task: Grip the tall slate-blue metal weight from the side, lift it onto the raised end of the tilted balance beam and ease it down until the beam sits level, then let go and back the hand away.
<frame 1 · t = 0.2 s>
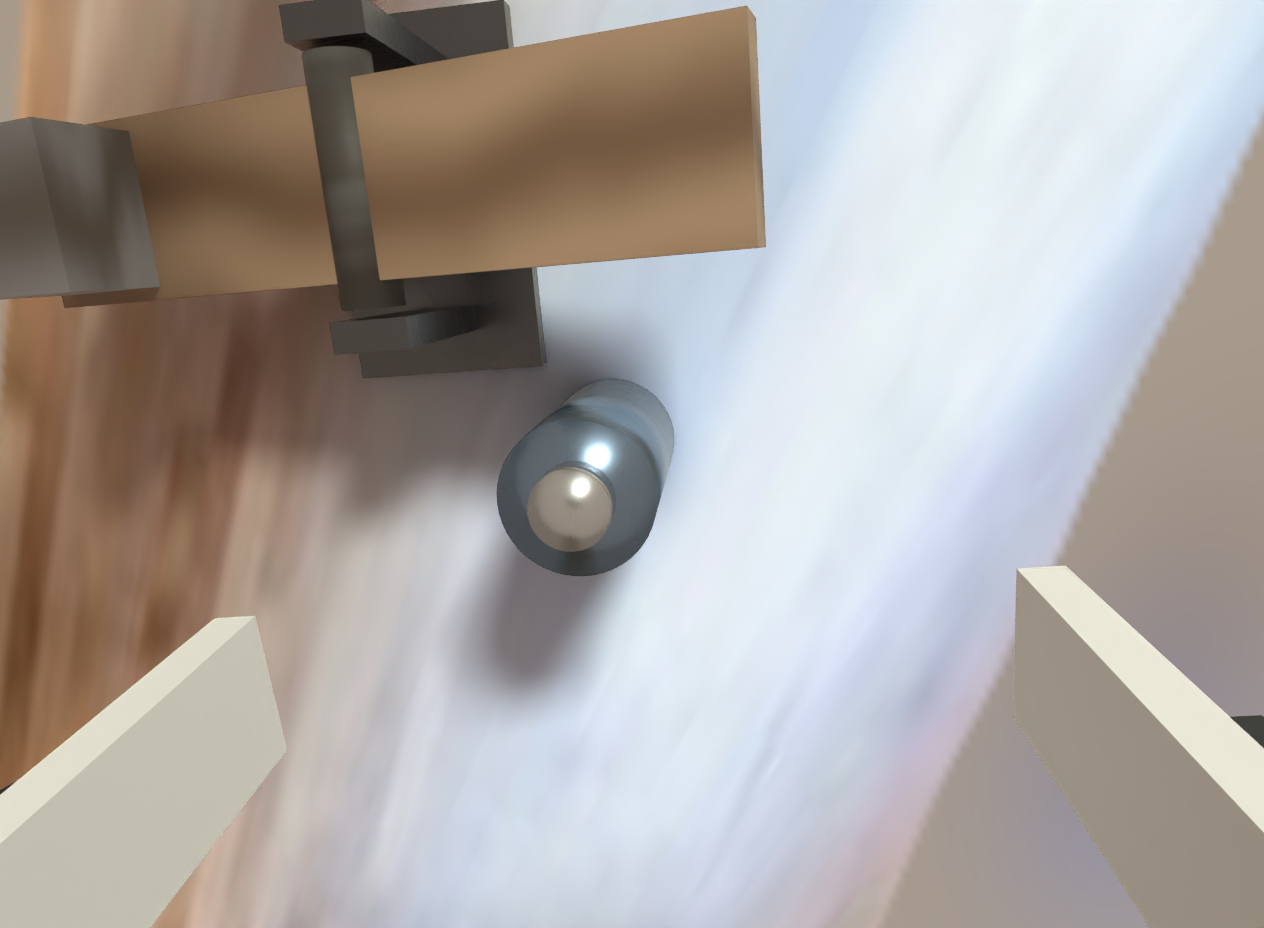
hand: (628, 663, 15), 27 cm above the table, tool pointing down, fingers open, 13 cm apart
beam: (325, 182, 30), point 11 cm above the table, hinge at 12.0°
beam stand: (436, 201, 40), on the table
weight: (613, 439, 42), on the table
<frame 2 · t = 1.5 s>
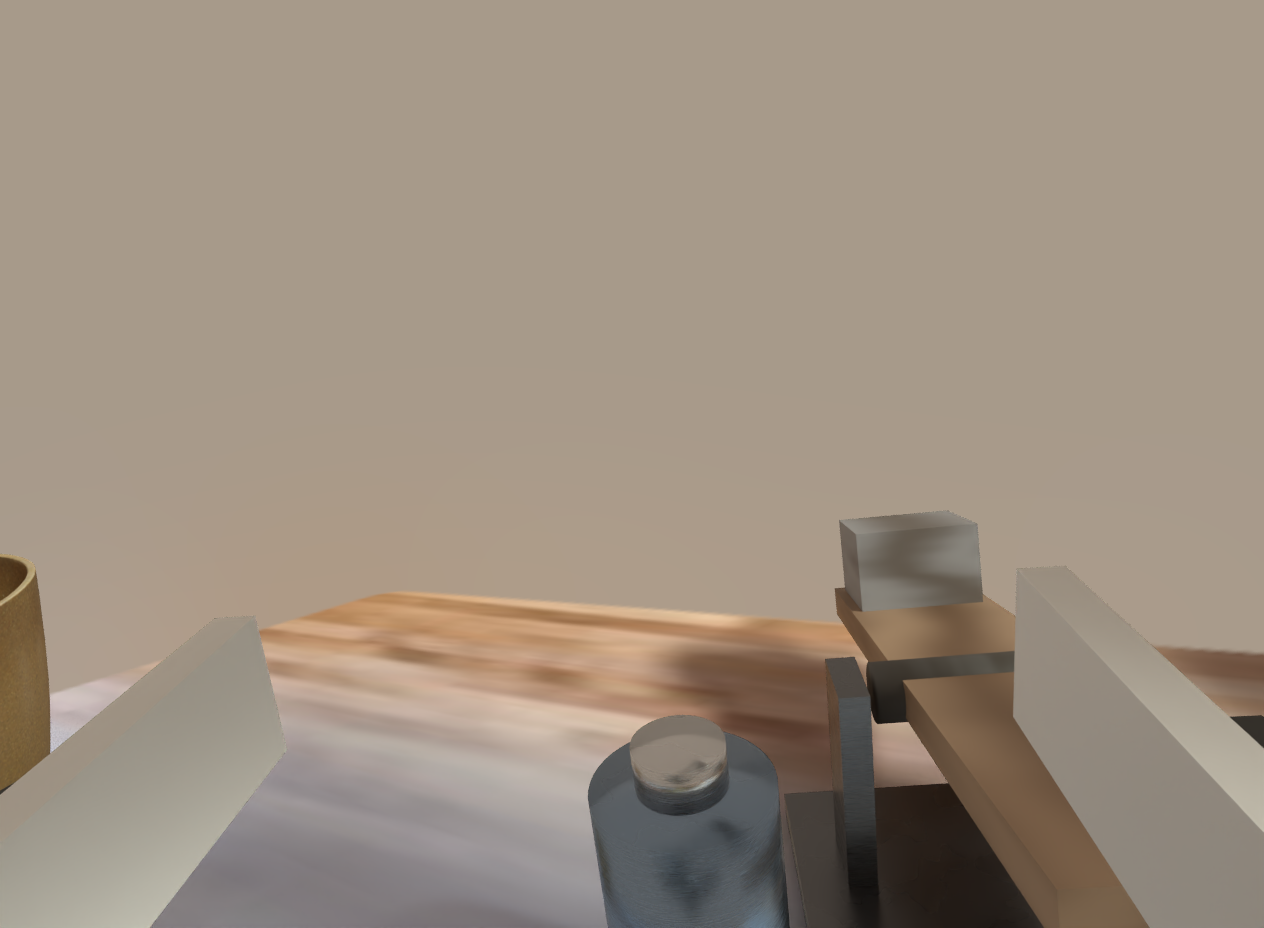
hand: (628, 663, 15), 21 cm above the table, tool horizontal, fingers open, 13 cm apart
beam: (984, 640, 33), point 11 cm above the table, hinge at 12.0°
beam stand: (988, 870, 36), on the table
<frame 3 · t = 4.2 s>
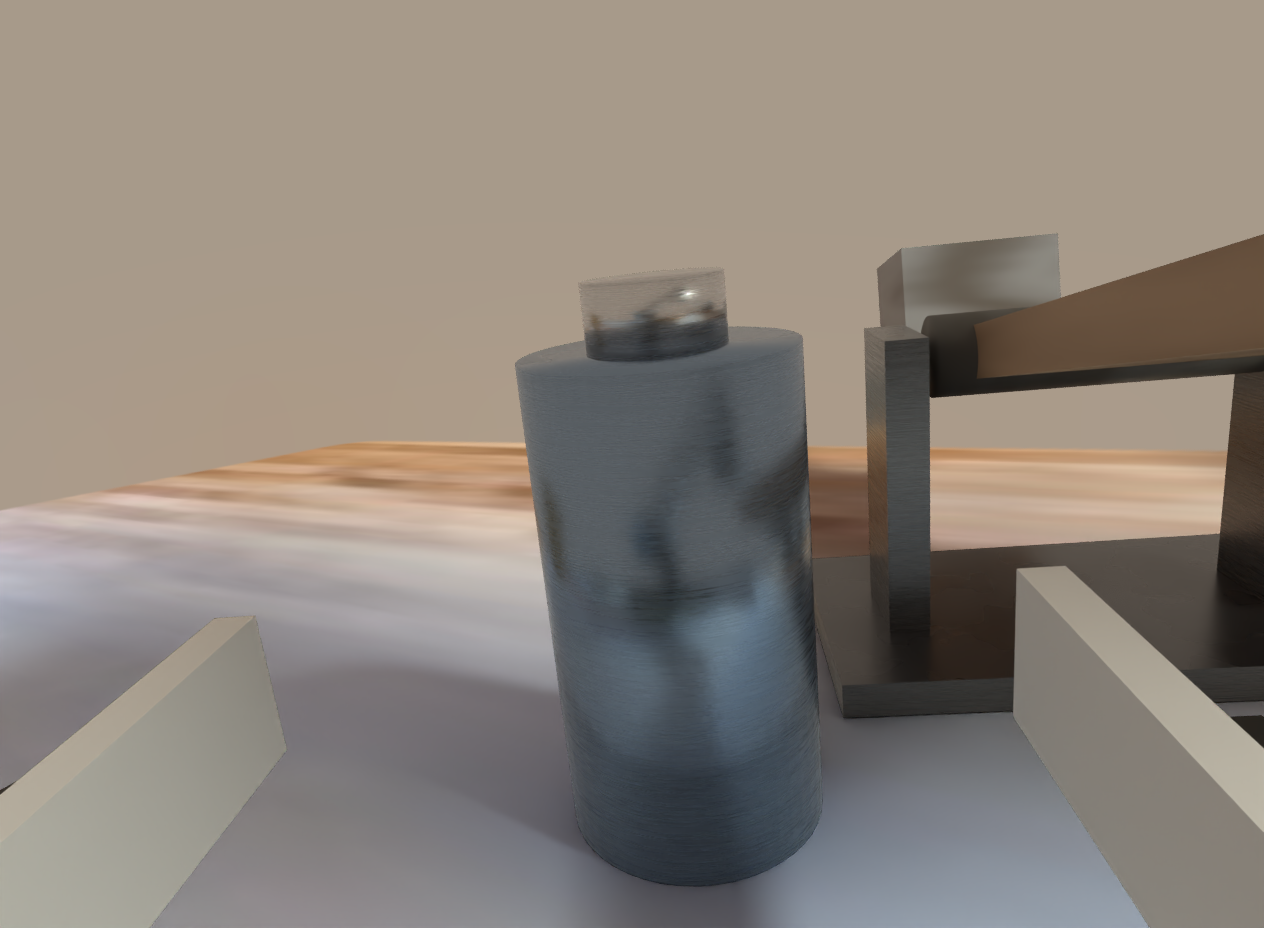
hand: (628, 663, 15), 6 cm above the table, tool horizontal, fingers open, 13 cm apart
beam: (1087, 281, 24), point 11 cm above the table, hinge at 12.0°
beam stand: (1077, 627, 27), on the table
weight: (697, 793, 21), on the table
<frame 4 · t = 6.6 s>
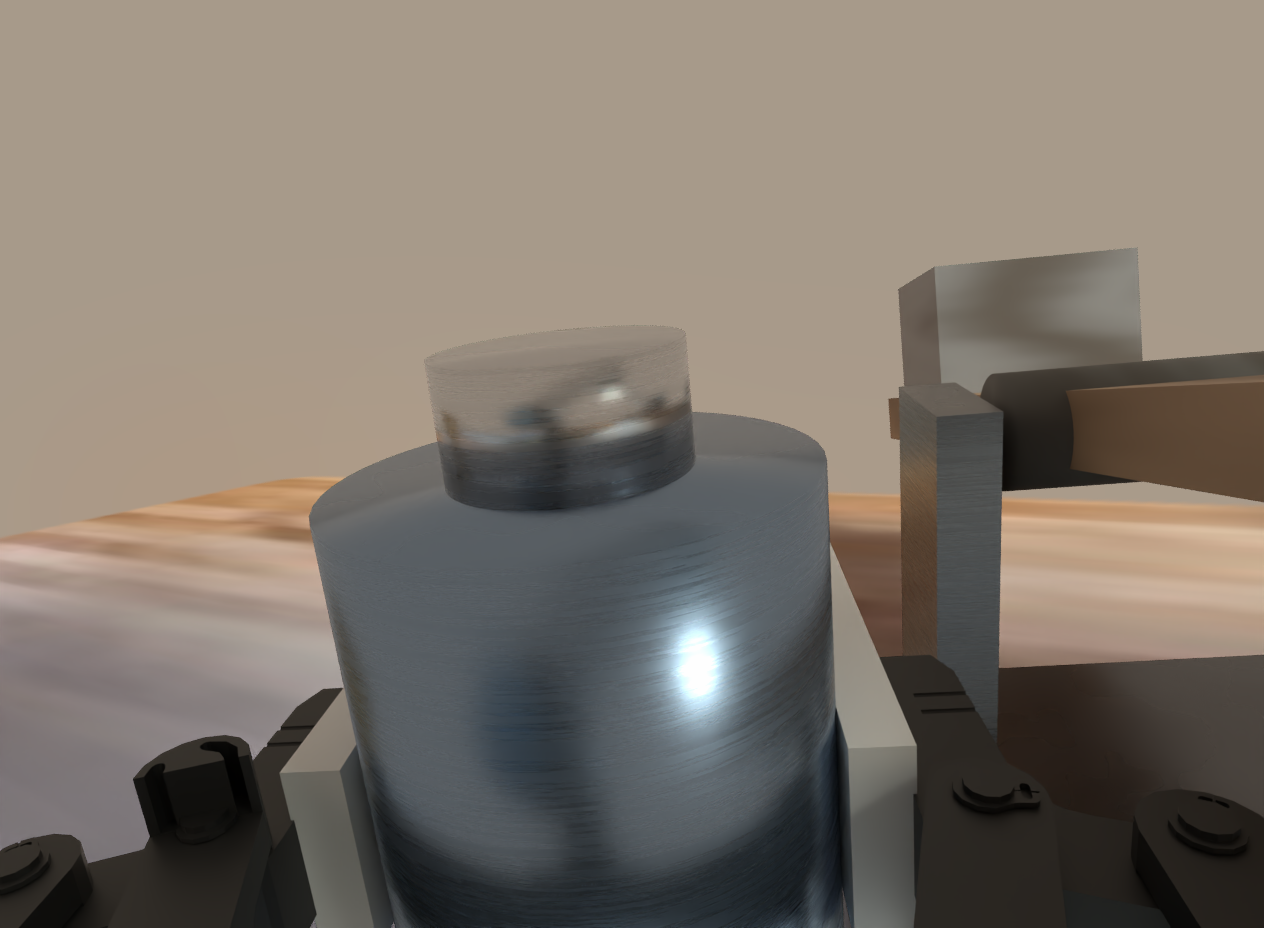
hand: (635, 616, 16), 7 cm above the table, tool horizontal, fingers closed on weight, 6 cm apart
beam: (1227, 324, 17), point 11 cm above the table, hinge at 12.0°
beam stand: (1195, 801, 19), on the table
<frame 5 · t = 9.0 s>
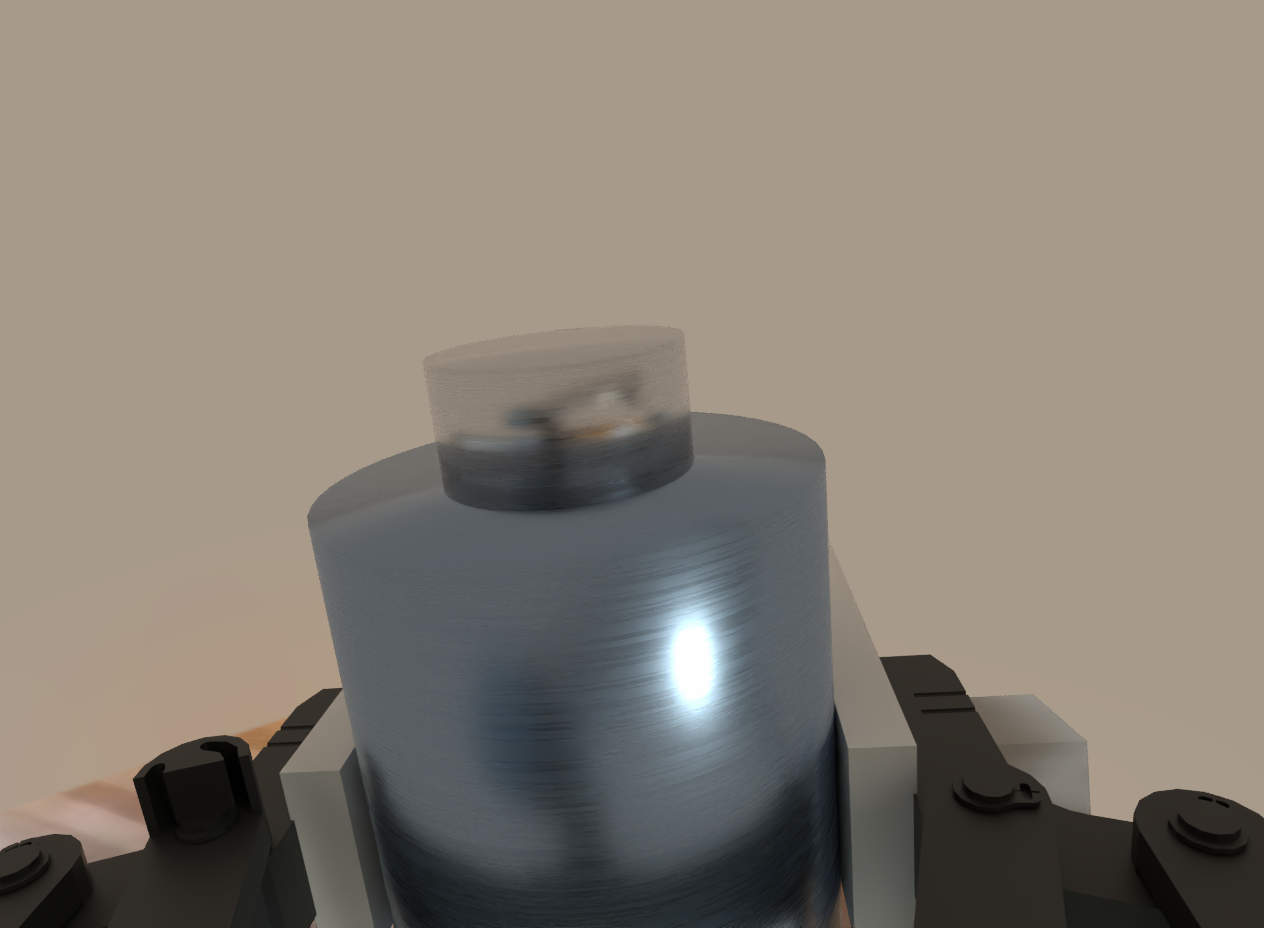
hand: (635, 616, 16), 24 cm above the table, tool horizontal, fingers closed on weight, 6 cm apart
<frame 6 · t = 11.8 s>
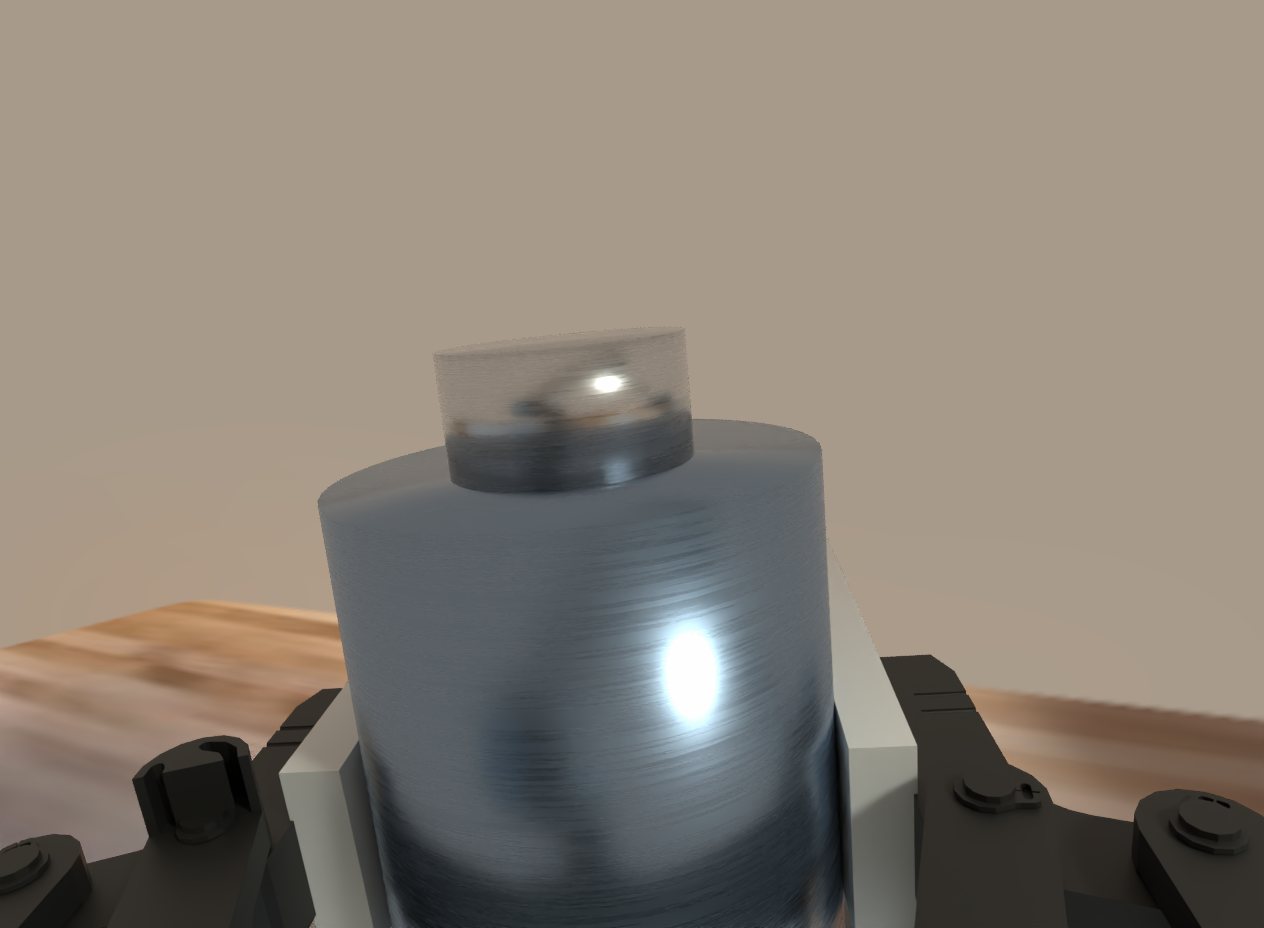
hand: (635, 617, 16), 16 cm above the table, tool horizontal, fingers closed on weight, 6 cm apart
when the fingers open (16 cm above the table, at t = 11.8 s): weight stays where it is, resting on beam.
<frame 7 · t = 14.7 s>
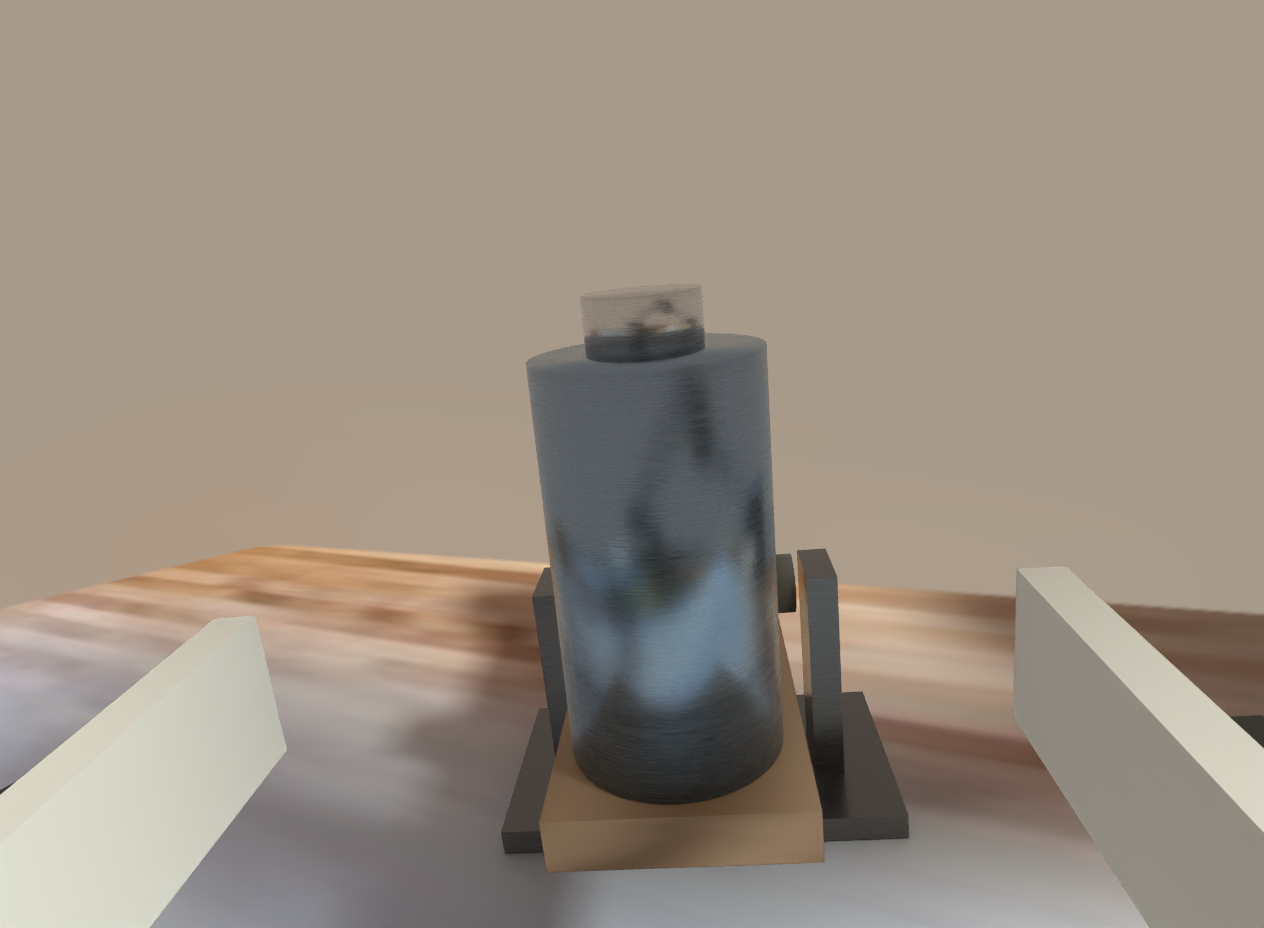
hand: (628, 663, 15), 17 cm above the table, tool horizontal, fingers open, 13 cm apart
beam: (680, 550, 35), point 11 cm above the table, hinge at -0.2°, touching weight
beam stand: (700, 774, 38), on the table
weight: (677, 734, 24), point 10 cm above the table, touching beam
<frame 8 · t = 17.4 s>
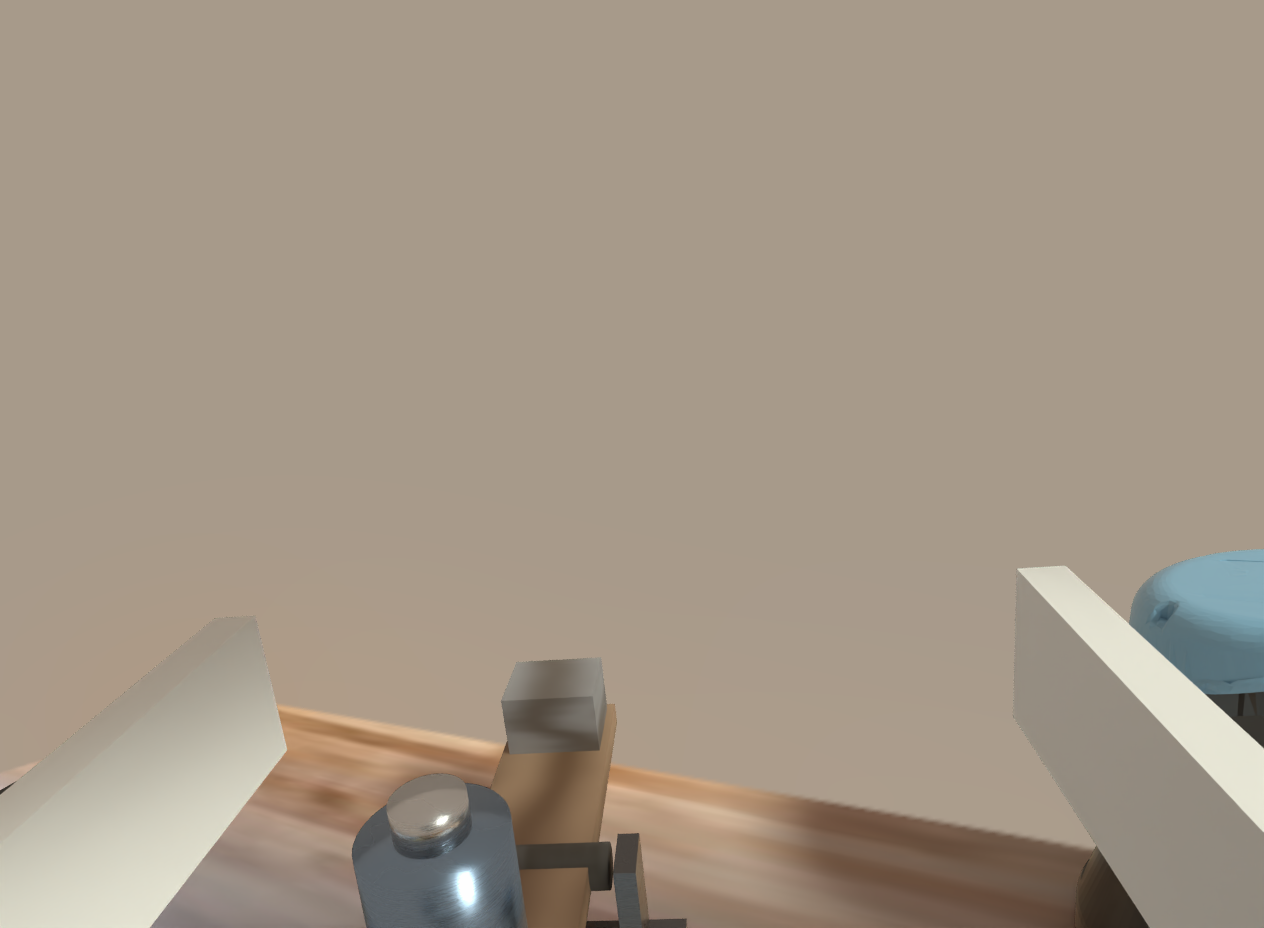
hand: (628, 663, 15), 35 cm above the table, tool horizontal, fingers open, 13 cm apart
beam: (524, 841, 46), point 11 cm above the table, hinge at -0.2°, touching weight
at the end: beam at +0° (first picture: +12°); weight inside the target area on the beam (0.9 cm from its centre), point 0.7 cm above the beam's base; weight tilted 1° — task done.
